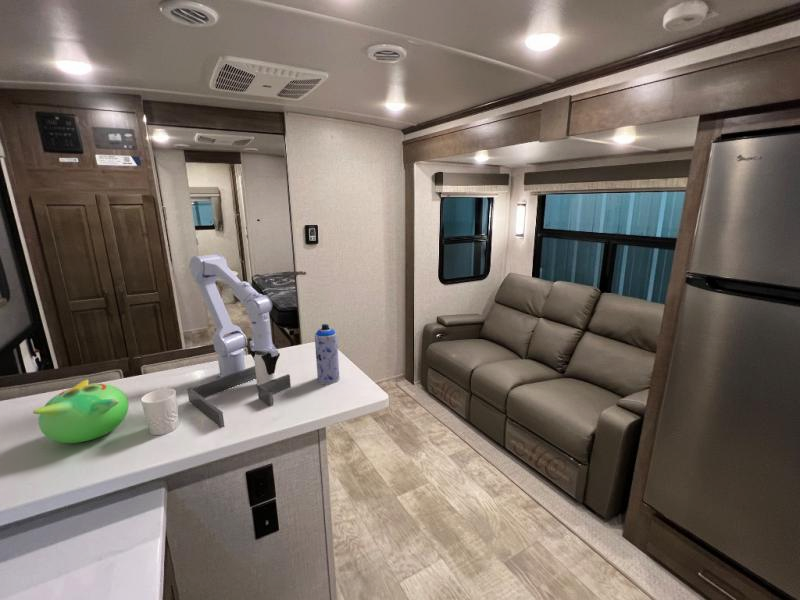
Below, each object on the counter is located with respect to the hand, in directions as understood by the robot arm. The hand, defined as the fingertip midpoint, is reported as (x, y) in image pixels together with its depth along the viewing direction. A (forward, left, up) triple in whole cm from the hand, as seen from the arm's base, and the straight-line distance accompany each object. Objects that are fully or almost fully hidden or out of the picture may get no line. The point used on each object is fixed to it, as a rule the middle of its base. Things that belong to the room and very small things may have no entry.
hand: (265, 370), depth 125 cm
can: (0, 0, -5) cm, 5 cm away
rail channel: (+3, -9, -5) cm, 11 cm away
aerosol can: (+13, +16, -5) cm, 21 cm away
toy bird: (-9, -46, -5) cm, 47 cm away
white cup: (+2, -32, -5) cm, 32 cm away
